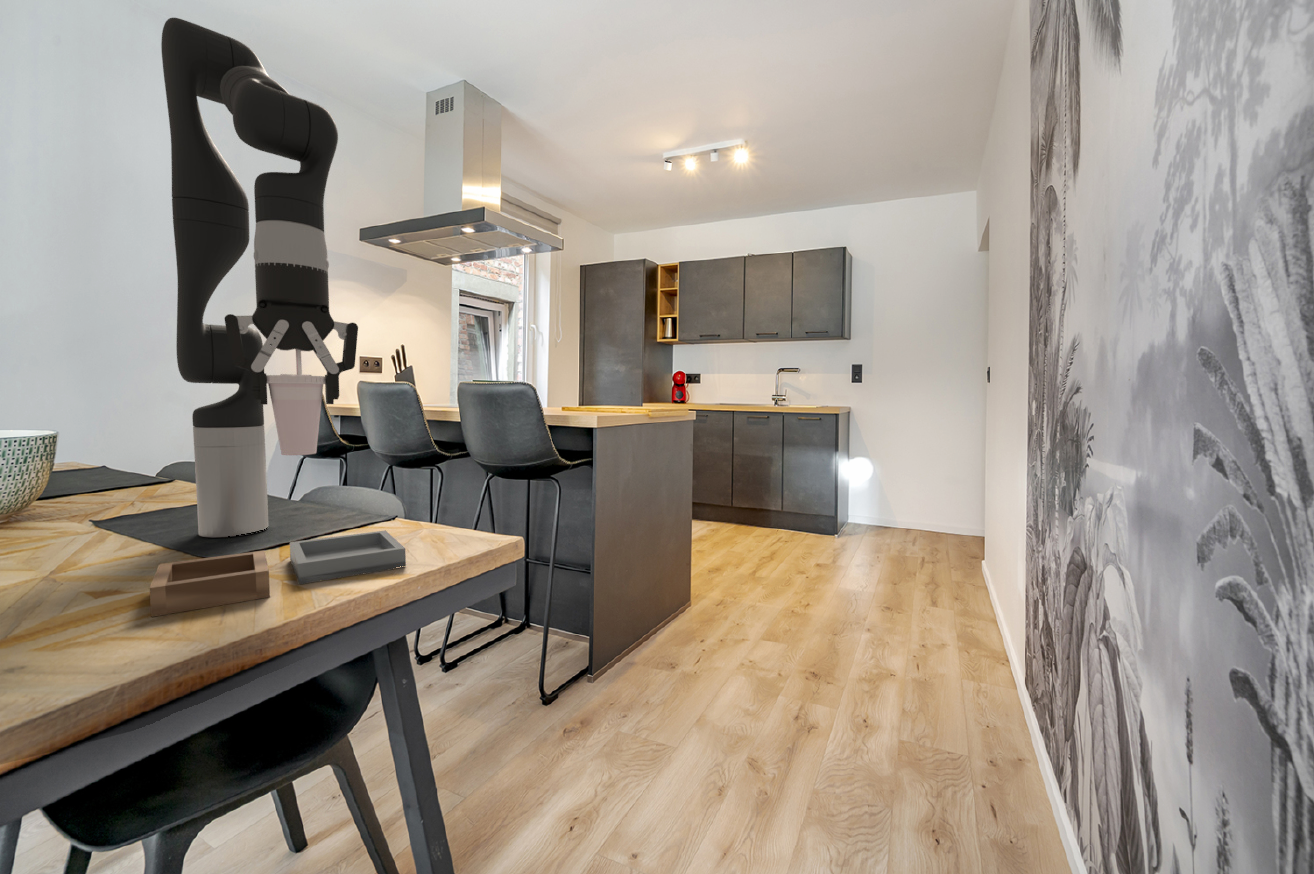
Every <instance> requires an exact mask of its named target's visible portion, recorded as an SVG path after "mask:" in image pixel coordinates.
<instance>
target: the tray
mask: <svg viewBox="0 0 1314 874" xmlns="http://www.w3.org/2000/svg"><path fill="white" fill-rule="evenodd" d="M289 556H290V557H289V558H290V559H289V560H291V561H290V563H291V566H292V569H293V571H294V575H295V578H296V580H298V581H297V583H298V585H303V584H308V583H315V581H317V582H321V581H320V580H323V581H328V580H335V579H339V578H340V579H341V578H347V577H352V576H359V575H364V574H363V573H366V574H371V573H377V571H378V572H383V571H382V570H384V571H389V570H388V569H390V570H394V569H393V568H396V567H400V566H401V567H402V566H406V567H407V564H406V562H407V561H406V560H407V559H406V556H407V555H406V547H405V546H404V545H402V544H401V543H400V542H399V541H398V540H397V539H396V538H395V537H393V536H392V535H391V534H390V533H389V532H388V531H387V530H378V531H377V530H376V531H370V532H369V531H368V532H362V533H356V534H355V533H354V534H347V535H337V536H330V537H323V538H315V539H306V540H305V539H304V540H295V541H291V542H289ZM402 568H403V567H402ZM396 569H397V568H396ZM358 574H359V575H358Z"/></svg>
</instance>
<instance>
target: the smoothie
mask: <svg viewBox="0 0 1314 874" xmlns="http://www.w3.org/2000/svg"><path fill="white" fill-rule="evenodd" d="M295 365H296V366H295V367H296V374H292V373H291V374H288V373H284V374H283V373H280V374H276V375H275V374H270V375H269V374H266V381H267V386H268V389H269V396H270V399H271V405H272V406H271V407H272V411H273V415H274V421H275V426H276V427H275V428H276V431H277V432H276V433H277V438H278V442H279V447H280V454H281V455H282V456H307V455H316V454H317V451H318V450H317V449H318V440H319V432H320V431H319V430H320V422H321V421H320V419H321V412H322V411H321V410H322V400H323V391H324V385H325V384H326V382H325V375H324V376H323V375H312V374H303V370H302V369H303V367H302V365H303V364H302V351H301V350H298V349H295Z"/></svg>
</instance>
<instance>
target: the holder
mask: <svg viewBox="0 0 1314 874" xmlns="http://www.w3.org/2000/svg"><path fill="white" fill-rule="evenodd" d="M266 556H267V555H266V551H265V550H257V551H251V552H244V553H235V554H227V555H220V556H219V555H218V556H210V557H205V558H196V559H189V560H179V561H172V562H165V563H159V564H158V567H157V569H156V572H155V574H154V576H153V579H152V581H151V583H150V586H149V601H150V616H151V617H152V618H153V617H157V616H158V617H159V616H164V615H171V614H177V613H181V612H190V611H195V610H200V609H206V608H211V607H217V606H218V607H219V606H223V605H229V604H235V603H241V602H247V601H254V600H258V599H264V598H270V597H271V592H270V587H271V586H270V571H269V570H270V569H269V566H268V561H267V557H266Z"/></svg>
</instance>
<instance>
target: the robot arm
mask: <svg viewBox="0 0 1314 874" xmlns="http://www.w3.org/2000/svg"><path fill="white" fill-rule="evenodd" d="M161 32H162V33H161V43H160V45H161V46H160V47H161V59H162V71H163V79H164V87H165V95H166V103H167V112H168V120H169V121H168V123H169V130H170V131H169V132H170V147H171V149H170V150H171V151H170V152H171V153H170V155H171V206H172V208H171V209H172V210H171V211H172V224H173V225H172V226H173V236H174V237H173V238H174V247H175V258H176V272H177V273H176V274H177V298H176V299H177V305H176V306H177V309H176V311H177V313H176V362H177V368H178V371H179V374H180V376H181V378H182V379H183V380H184V381H185V382H187V383H191V384H221V385H222V384H223V385H224V384H225V385H226V384H233V385H238V390H237V391H236V392H234V393H233V394H232V395H230V396H229V397H227V398H225V399H223V400H220V401H218V402H217V401H216V402H214V403H211V404H210V403H209V404H207V405H204V406H200V407H197V408H195V409H194V410H193V411H192V426H193V427H192V433H193V434H192V435H193V437H192V438H193V451H194V469H195V470H194V471H195V487H196V488H195V489H196V507H197V508H196V509H197V511H196V512H197V513H196V514H197V528H198V536H199V537H203V538H229V537H228V536H230V537H236V535H239V536H242V535H241V534H245V535H247V534H246V533H251V532H255V531H259V530H263V531H265V530H267V529H268V528H269V527H268V526H269V507H268V505H269V503H268V483H267V480H268V479H267V478H268V477H267V460H266V459H267V456H266V438H265V435H266V433H265V417H264V416H265V415H264V412H265V411H264V406H266V405H268V388H267V387H268V383H267V381H266V375H267V373H265V368H266V366H267V364H268V363H269V361H270V359H271V358H272V355H273V354H274V352H275V350H276V349H277V350H280V351H292V350H296V349H298V350H301V352H312V351H313V352H314V354H315V355H316V358H318V360H319V361H320V362H321V365H322V366H323V368H324V370H325V371H326V374H324V377H325V382H326V384H324V385H325V386H324V391H325V393H324V395H325V404H326V405H334V402H335V401H334V400H338V399H339V397H340V375H341V374H342V373H343V372H347V371H349V370H350V371H351V370H353V369H354V368H355V367H356V366H355V365H356V354H357V343H358V331H359V326H358V324H357V323H355V322H349V323H348V322H347V323H345V322H339V321H334V319H333V317H332V315H331V314H330V298H329V297H330V295H329V294H330V293H329V291H330V289H329V266H330V264H329V260H328V248H327V242H326V236H325V214H324V200H325V193H326V188H327V187H326V186H327V182H328V178H329V173H330V170H331V167H332V166H331V165H332V164H333V160H334V157H335V154H336V150H337V146H338V142H339V131H338V128H337V124H336V122H335V119H334V118H333V116H332V114H331V113H330V112H329V110H327V109H326V108H325V107H323V106H321V105H320V104H317V103H316V102H312V101H310V100H307V99H303V98H301V97H298V96H296V95H293V94H290V93H289V92H288V91H287V90H286V88H284V87H283V86H282V85H281V84H280V83H279V82H278V81H276V80H274V79H273V78H272V77H270V76H269V74H268V73H267V71H266V68H265V67H264V66H263V64H262V62H261V61H260V59H259V57H258V56H257V55H256V53H255V52H254V51H253V50H252V49H251V48H250V47H248V46H247V45H246V44H245V43H243V42H242V41H239V40H237V39H235V38H232V37H230V36H228V35H225V34H223V33H220V32H217V31H215V30H213V29H209V28H207V27H204V26H201V25H199V24H197V23H194V22H191V21H188V20H185V19H182V18H178V17H170V18H168V19H167V20H166V21H165V22H164V24H163V27H162V31H161ZM198 98H202V99H205V100H208V101H212V102H214V103H218V104H221V105H224V106H225V107H226V109H227V110H228V112H229V113H230V114H231V115H232V123H233V126H234V127H233V128H234V131H235V132H236V133H235V134H237V137H238V139H240V140H241V142H243V143H244V144H245V145H247V146H249V147H251V148H253V149H255V150H258V151H261V152H264V153H268V154H271V155H275V156H279V157H282V158H286V159H289V160H293V161H297V162H299V164H300V166H299V172H284V171H282V172H281V171H269V172H263V173H260V174H259V175H258V176H257V177H256V178H255V181H254V186H253V188H254V189H253V190H254V195H253V196H254V213H255V214H254V216H255V217H254V219H255V232H254V240H253V260H254V269H255V270H254V275H255V280H254V281H255V298H256V300H255V301H256V304H255V305H256V308H255V310H254V312H253V314H252V315H234V314H226V315H225V316H224V324H225V325H219V324H207V323H203V320H204V315H205V312H206V308H207V306H208V303H209V301H210V300H211V298H212V295H213V294H214V292H215V290H216V289H217V287H218V286H219V285H220V283H221V281H222V280H223V279H224V278H225V277H226V276H227V274H228V273H229V272H230V271H231V270H232V269H233V267H235V265H236V264H237V263H238V262H239V260H240V259H241V257H242V256H243V255H244V253H245V252H246V250H247V249H248V246H249V244H250V206H249V200H248V197H247V193H246V192H245V189H244V188H243V185H242V184H241V183H240V181H239V179H238V178H237V176H236V174H235V173H234V171H233V170H232V168H231V167H230V166H229V164H228V162H227V161H226V160H225V158H224V156H223V155H222V153H221V152H220V150H219V149H218V147H217V146H216V145H215V143H214V140H213V139H212V137H211V135H210V133H209V131H208V130H207V127H206V125H205V122H204V118H203V115H202V113H201V109H200V105H199V102H198V101H199V100H198ZM251 325H253V326H254V327H255V328H256V329H255V328H253V327H249V326H251ZM333 330H335V331H336V333H337V336H338V339H341V340H343V348H342V359H341V360H342V361H339V362H336V360H335V359H334V357H332V353H331V352H330V350H329V349H328V347H327V345H326V344H325V342H324V341H325V339H326V338H327V337H328V335H330V333H332V331H333ZM259 332H260V333H261V334H260V333H259ZM261 335H263V337H264V338H265V339H266V341H264V344H263V340H262V336H261ZM267 527H268V528H267ZM266 528H267V529H266ZM264 529H265V530H264ZM259 532H260V531H259ZM251 534H252V533H251Z"/></svg>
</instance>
